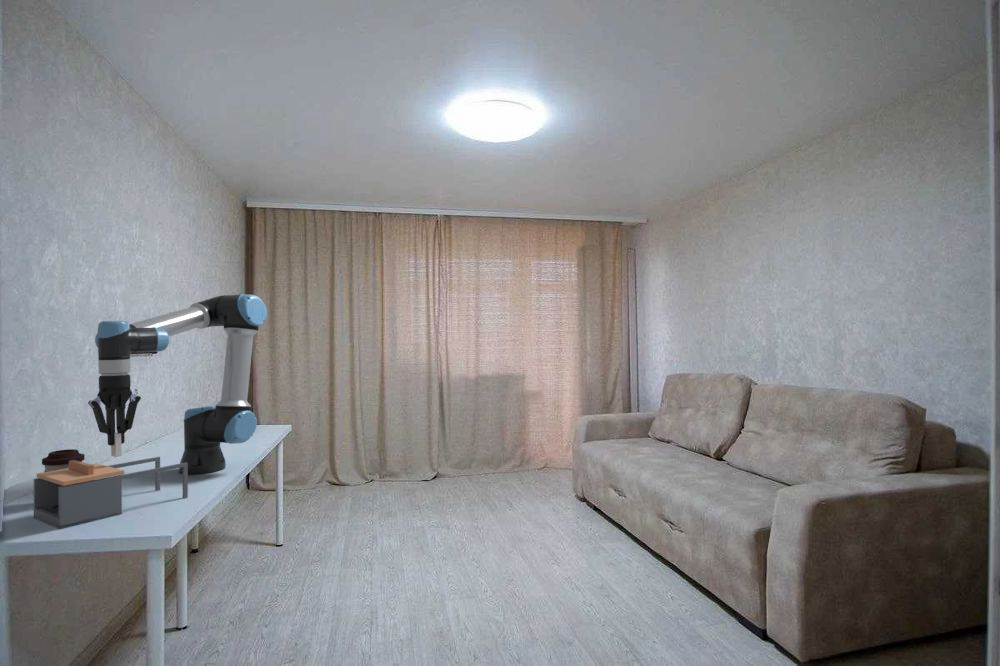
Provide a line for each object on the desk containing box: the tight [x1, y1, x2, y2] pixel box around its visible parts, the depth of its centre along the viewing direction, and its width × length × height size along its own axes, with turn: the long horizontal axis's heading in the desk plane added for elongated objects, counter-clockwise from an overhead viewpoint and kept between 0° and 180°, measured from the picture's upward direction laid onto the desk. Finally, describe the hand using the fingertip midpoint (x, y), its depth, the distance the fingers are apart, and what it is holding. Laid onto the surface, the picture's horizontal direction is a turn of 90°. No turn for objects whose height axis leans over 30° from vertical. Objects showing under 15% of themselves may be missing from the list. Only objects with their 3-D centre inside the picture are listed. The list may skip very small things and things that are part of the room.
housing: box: [33, 456, 189, 530], centre depth 158 cm, size 32×17×10 cm, turn 148°
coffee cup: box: [41, 448, 86, 472], centre depth 163 cm, size 10×10×15 cm
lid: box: [36, 460, 125, 486], centre depth 151 cm, size 14×17×4 cm
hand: (116, 455), depth 159 cm, fingers closed
